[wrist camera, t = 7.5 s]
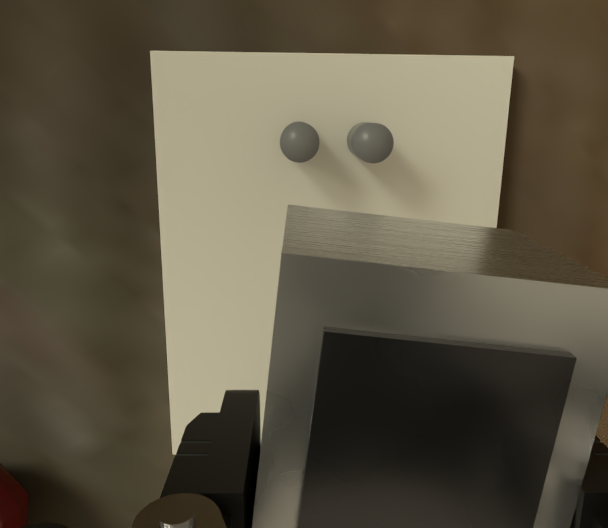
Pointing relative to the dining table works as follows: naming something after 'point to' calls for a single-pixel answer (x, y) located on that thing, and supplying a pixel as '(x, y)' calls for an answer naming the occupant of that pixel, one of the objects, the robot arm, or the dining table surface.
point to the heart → (12, 501)
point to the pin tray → (300, 181)
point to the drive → (428, 377)
